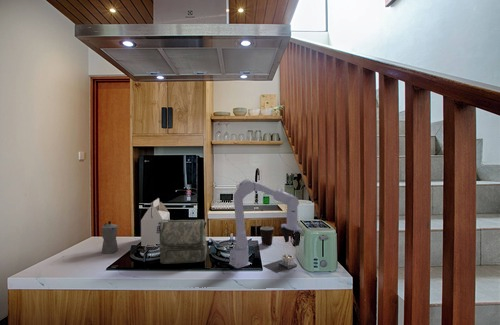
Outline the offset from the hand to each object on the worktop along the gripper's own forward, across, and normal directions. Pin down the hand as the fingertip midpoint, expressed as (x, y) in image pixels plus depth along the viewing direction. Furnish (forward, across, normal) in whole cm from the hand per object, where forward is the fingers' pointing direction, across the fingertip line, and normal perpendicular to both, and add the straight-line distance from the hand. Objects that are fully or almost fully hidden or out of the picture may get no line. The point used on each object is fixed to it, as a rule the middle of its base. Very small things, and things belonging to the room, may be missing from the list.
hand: (291, 243), depth 149 cm
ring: (+8, -3, +6) cm, 11 cm away
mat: (+10, 0, +10) cm, 14 cm away
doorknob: (+10, -3, +6) cm, 12 cm away
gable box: (+10, +78, +46) cm, 91 cm away
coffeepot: (+10, +78, +74) cm, 108 cm away
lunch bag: (+10, +40, +44) cm, 60 cm away
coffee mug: (+10, +32, -11) cm, 35 cm away
